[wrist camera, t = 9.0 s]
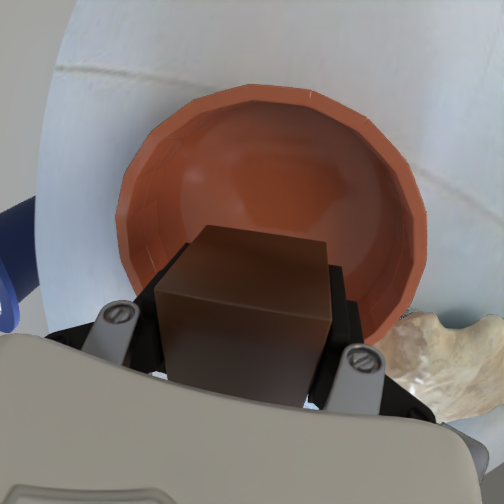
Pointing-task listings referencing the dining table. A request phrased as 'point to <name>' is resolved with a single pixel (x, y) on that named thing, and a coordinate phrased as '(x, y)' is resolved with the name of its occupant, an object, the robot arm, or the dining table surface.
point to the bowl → (279, 191)
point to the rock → (447, 364)
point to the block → (246, 314)
